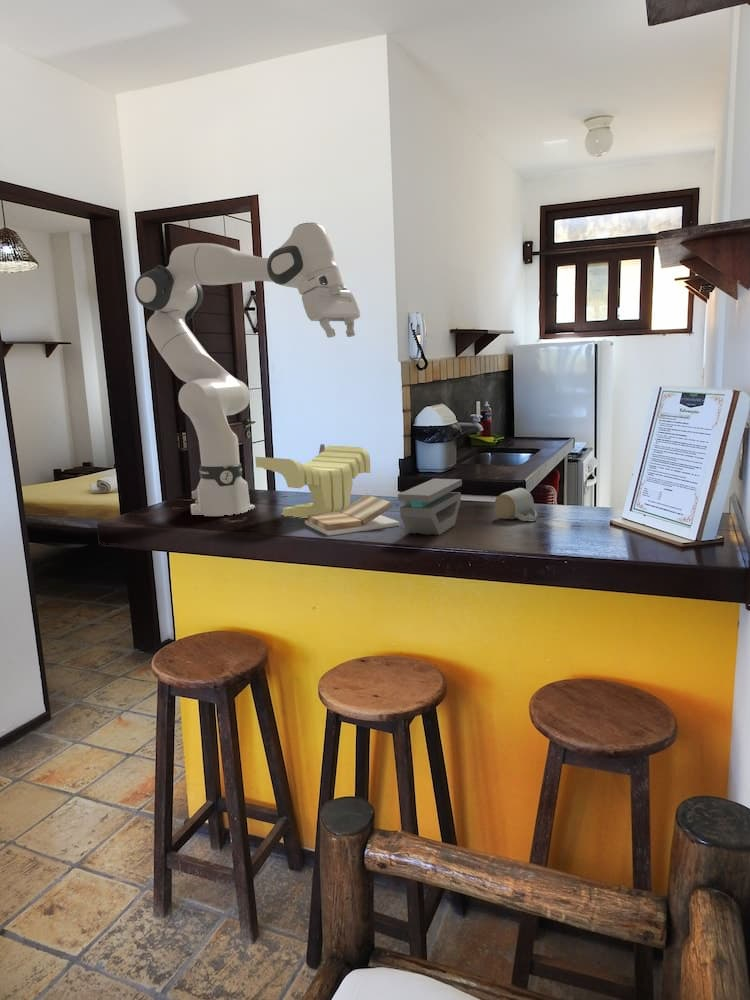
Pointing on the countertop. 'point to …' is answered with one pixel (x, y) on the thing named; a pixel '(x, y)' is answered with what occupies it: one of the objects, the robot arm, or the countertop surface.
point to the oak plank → (334, 521)
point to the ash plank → (367, 508)
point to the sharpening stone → (431, 506)
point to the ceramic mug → (515, 505)
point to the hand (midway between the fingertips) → (341, 336)
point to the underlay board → (374, 524)
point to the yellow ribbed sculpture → (321, 478)
